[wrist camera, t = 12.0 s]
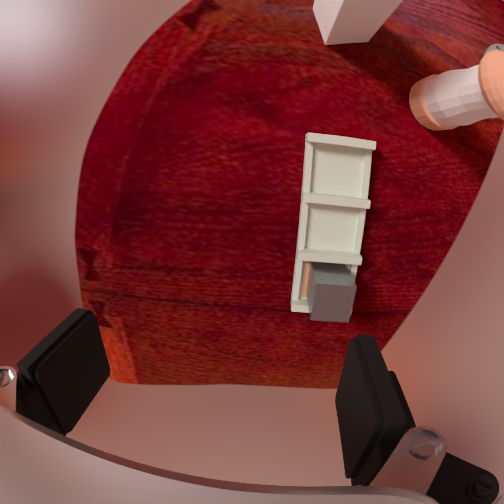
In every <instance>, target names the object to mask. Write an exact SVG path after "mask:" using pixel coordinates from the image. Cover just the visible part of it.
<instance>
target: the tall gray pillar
mask: <svg viewBox="0 0 504 504" xmlns="http://www.w3.org/2000/svg"><path fill="white" fill-rule="evenodd" d="M356 288H357V286H356V284H355V282H354V280H353V278H352V277H351V275H350V273H349V271H348V269H347V268H346V266H345V264H339V263H326V262H313V261H310V268H309V275H308V282H307V289H306V297H307V303H308V309H309V315H310V320H318V321H334V322H349V319H350V315H351V311H352V306H353V302H354V298H355V293H356Z"/></svg>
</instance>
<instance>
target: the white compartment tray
mask: <svg viewBox="0 0 504 504" xmlns="http://www.w3.org/2000/svg"><path fill="white" fill-rule="evenodd" d="M372 150H376V141H370V140H363V139H357V138H350V137H342V136H335V135H327V134H318V133H307V134H306V140H305V156H304V170H303V183H302V196H301V207H300V219H299V230H298V240H297V250H296V259H295V269H294V278H293V287H292V295H291V311H292V312H307V313H309V309H308V303H307V297H306V289H307V282H308V275H309V268H310V261H313V262H326V263H339V264H345V266H346V268H347V269H348V271H349V273H350V275H351V277H352V278H353V280H354V282H355V278H356V273H357V267H358V265H361V263H362V258H363V257H362V256H361V255H360V249H361V243H362V236H363V230H364V222H365V215H366V209H370V203H371V201H370V200H369V199H368V190H369V180H370V170H371V158H372ZM352 309H353V308H352ZM351 313H352V311H351Z"/></svg>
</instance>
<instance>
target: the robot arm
mask: <svg viewBox="0 0 504 504" xmlns="http://www.w3.org/2000/svg"><path fill="white" fill-rule="evenodd" d="M492 50H500V51H504V45H503V44H493V45H491V46H489V47H488V48H486V50H485V51H484V54H483V57H484V56H485V54H486V53H487V52H489V51H492ZM17 367H18V369H19V372H18V373H16V371H15V369H13V368H12V367H9V366H2V367H0V504H504V494H503V495H501V494H499V483H498V481H497V479H496V477H495V476H494V475H493V474H492V473H490V472H489V471H486V470H484V469H482V468H479V467H477V466H475V465H473V464H471V463H468V462H466V461H464V460H462V459H460V458H458V457H455V456H453V455H451V454H449V453H447V452H446V449H447V442H446V440H445V438H444V436H443V435H442V434H441V433H440V432H439V431H438V430H436V429H434V428H432V427H428V426H417V427H416V425H415V422H414V420H413V417H412V414H411V412H410V409H409V407H408V404H407V401H406V399H405V396H404V394H403V391H402V389H401V386H400V384H399V382H398V379H397V377H396V375H395V373H394V372H393V371H388V369H387V367H386V364H385V362H384V359H383V357H382V354H381V352H380V350H379V347H378V345H377V342H376V340H375V338H374V336H373V335H356V337H355V339H351V340H350V342H349V346H348V351H347V355H346V359H345V363H344V367H343V371H342V374H341V378H340V382H339V386H338V389H337V393H336V399H335V400H336V401H335V403H336V409H337V416H338V423H339V430H340V437H341V444H342V452H343V459H344V468H345V476H346V478H351V482H352V486H331V487H330V486H323V487H297V486H274V485H259V484H246V483H238V482H229V481H221V480H214V479H208V478H203V477H197V476H192V475H187V474H182V473H177V472H172V471H168V470H164V469H160V468H155V467H152V466H148V465H145V464H141V463H138V462H134V461H131V460H127V459H124V458H121V457H118V456H115V455H112V454H109V453H106V452H103V451H101V450H98V449H95V448H93V447H90V446H87V445H85V444H82V443H80V442H77V441H75V440H73V439H70V438H68V437H66V434H67V433H68V432H71V431H72V429H73V428H74V427H75V425H76V424H77V422H78V421H79V419H80V418H81V416H82V414H83V413H84V412H85V410H86V409H87V407H88V406H89V404H90V403H91V401H92V400H93V398H94V397H95V396H96V394H97V393H98V391H99V390H100V388H101V387H102V385H103V384H104V383H105V381H106V380H107V378H108V377H109V375H110V366H109V363H108V359H107V356H106V352H105V349H104V345H103V341H102V338H101V334H100V330H99V326H98V321H97V318H96V316H95V315H94V314H93V312H92V311H91V310H87V309H82V308H78V309H76V310H75V311H74V312H73V313H71V314H70V315H69V316H68V317H67V318H66V319H65V320H64V321H62V322H61V323H60V324H59V325H58V326H57V327H56V328H55V329H54V330H52V331H51V332H50V333H49V334H48V335H47V336H46V337H45V338H44V339H43V340H42V341H40V342H39V343H38V344H37V345H36V346H35V347H34V348H33V349H32V350H31V351H30V352H29V353H28V354H27V355H26V356H25V357H24V358H23V359H21V360H20V361H19V362H18V363H17ZM359 485H361V486H359Z"/></svg>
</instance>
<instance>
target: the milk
mask: <svg viewBox="0 0 504 504" xmlns="http://www.w3.org/2000/svg"><path fill="white" fill-rule="evenodd" d="M402 1H403V0H315V1H314V5H313V11H314V14H315V17H316V20H317V23H318V26H319V28H320V31H321V34H322V37H323V40H324V44H325V45H333V44H345V43H361V42H368V41H369V40H370V39H371V38H372V37H373V35H374V34H375V33H376V32H377V31H378V29H379V28H380V27H381V26H382V25H383V23H384V22H385V21H386V20H387V19H388V17H389V16H390V15H391V14H392V13H393V11H394V10H395V9H396V8H397V7H398V6H399V4H400V3H401V2H402Z"/></svg>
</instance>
